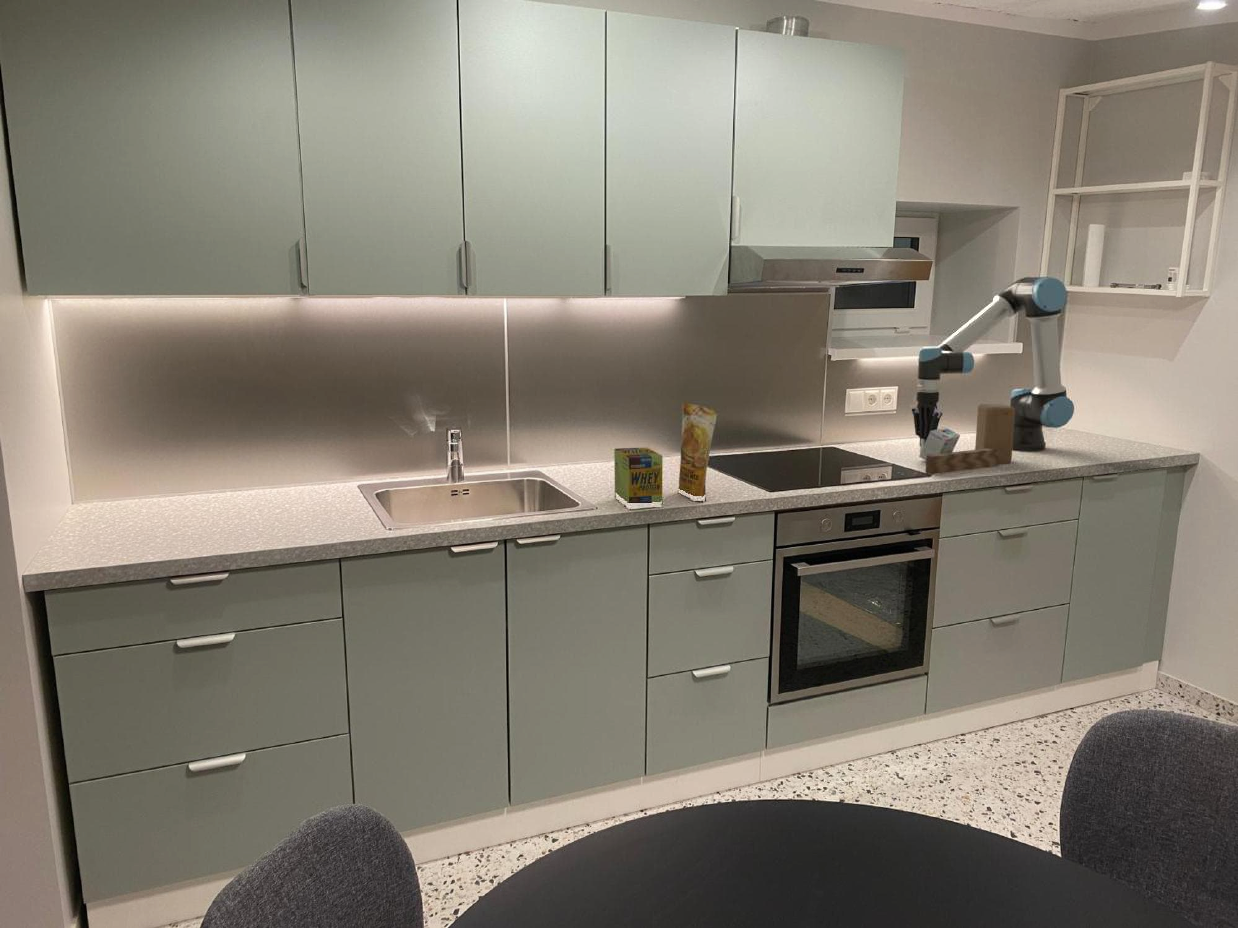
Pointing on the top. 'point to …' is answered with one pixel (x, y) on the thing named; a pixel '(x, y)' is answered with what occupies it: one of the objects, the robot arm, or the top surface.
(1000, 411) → the wooden block
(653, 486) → the protein box
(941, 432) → the light bulb box
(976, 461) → the walnut board
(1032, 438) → the robot arm
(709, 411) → the pancake mix bag
